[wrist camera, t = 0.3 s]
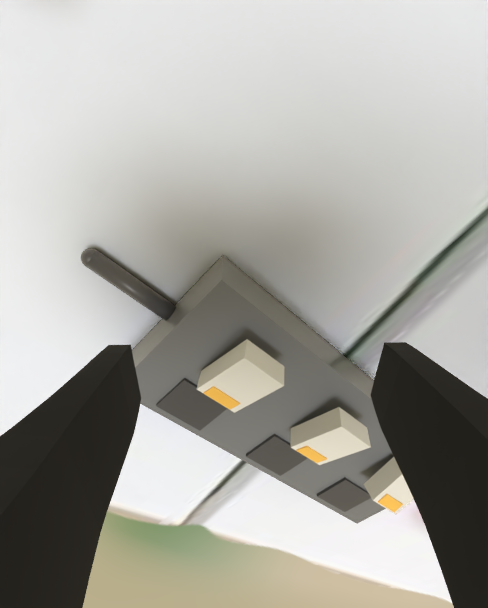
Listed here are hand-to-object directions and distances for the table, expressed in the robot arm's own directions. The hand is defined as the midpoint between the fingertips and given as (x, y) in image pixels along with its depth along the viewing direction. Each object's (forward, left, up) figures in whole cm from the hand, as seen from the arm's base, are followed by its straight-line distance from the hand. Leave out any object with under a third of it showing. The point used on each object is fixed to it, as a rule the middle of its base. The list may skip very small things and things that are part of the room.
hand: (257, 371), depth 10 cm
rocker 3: (-13, +12, -6) cm, 19 cm away
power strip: (-4, +9, -10) cm, 13 cm away
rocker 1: (-1, +5, -6) cm, 8 cm away
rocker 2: (-7, +9, -6) cm, 12 cm away
